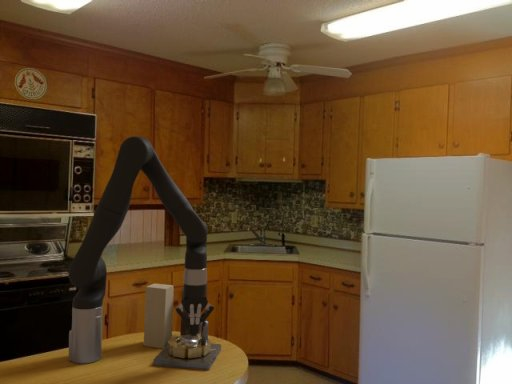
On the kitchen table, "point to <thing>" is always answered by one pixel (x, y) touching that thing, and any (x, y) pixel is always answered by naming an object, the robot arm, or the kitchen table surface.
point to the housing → (192, 363)
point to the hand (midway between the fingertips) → (193, 335)
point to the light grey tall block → (158, 315)
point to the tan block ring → (194, 351)
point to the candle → (184, 325)
